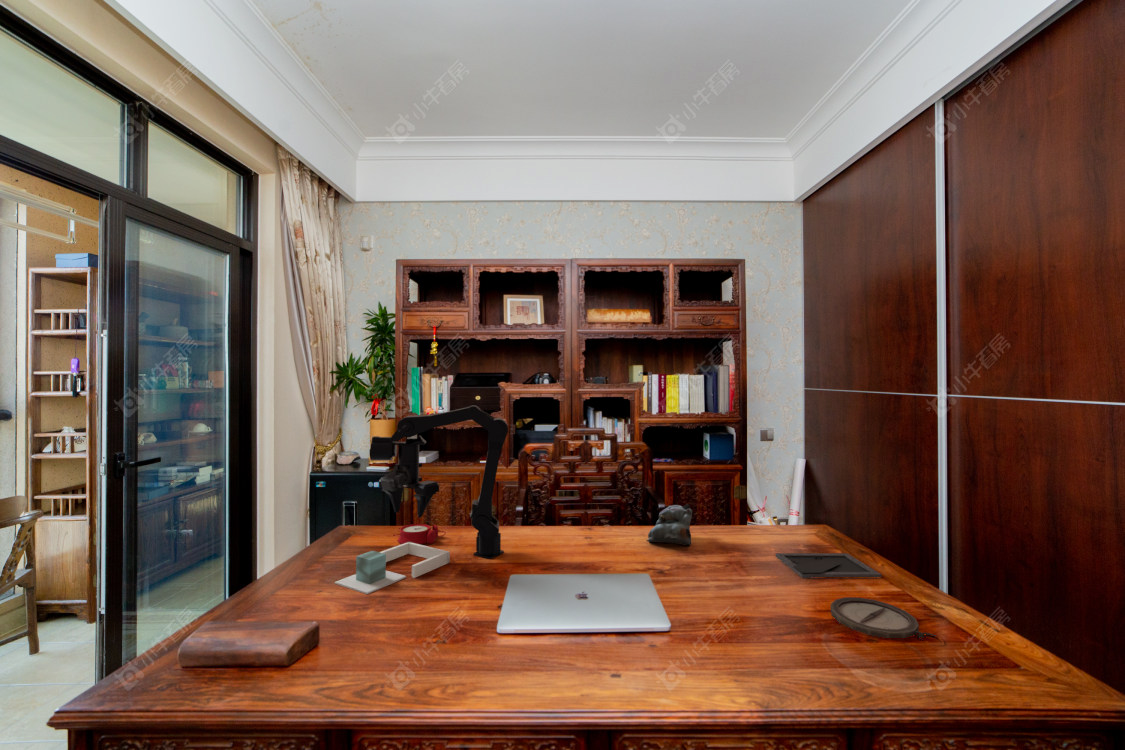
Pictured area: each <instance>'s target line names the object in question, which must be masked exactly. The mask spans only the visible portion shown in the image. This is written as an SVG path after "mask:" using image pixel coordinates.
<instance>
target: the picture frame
mask: <svg viewBox="0 0 1125 750" xmlns="http://www.w3.org/2000/svg"><path fill="white" fill-rule="evenodd" d="M776 557H777V558H776ZM775 558H776V559H777V560H779V559H780V560H781V561H782V562H781V561H780V560H779V561H780V562H781V563H782V564H784V563H785V564H786V565H787V566H788V567H787V566H786V565H785V564H784V565H785V566H786V567H787V568H789V567H790V568H791V569H792V570H793V571H792V570H791V569H790V568H789V569H790V570H791V571H792V572H794V573H795V574H796V573H797V574H798V575H799V576H798V575H797V574H796V575H797V576H798V577H800V578H801V577H802V578H801V579H815V578H814V577H869V578H868V579H871V578H870V577H876V578H875V579H878V578H877V577H882V573H880V572H879V571H877V570H875V569H874V568H872V567H871V566H869V565H868V564H865V563H863V562H862V561H860V560H859V559H857V558H856V557H854V556H852V555H851V554H849V553H846V552H845V553H840V552H839V553H837V552H834V553H832V552H830V553H829V552H828V553H827V552H825V553H823V552H820V553H816V552H814V553H813V552H805V553H804V552H803V553H802V552H801V553H800V552H798V553H797V552H795V553H794V552H793V553H792V552H791V553H789V552H779V553H778V552H775ZM811 577H813V578H811Z"/></svg>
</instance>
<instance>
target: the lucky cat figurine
mask: <svg viewBox="0 0 1125 750" xmlns="http://www.w3.org/2000/svg"><path fill="white" fill-rule="evenodd" d="M692 518H693V510H692V509H691V508H690V504H685V505H683V506H682V505H679V504H673V505H668V506H667V507H666V508H664V509H662V510H661V511H660V512H659V514H658V520H657V521H656V523H655V526H653V527H652V528H651V529H650V530H649V532H648V534H647V539H645V541H646V542H648V543H649V544H651V543H669V544H678V545H683V546H687V547H690V546H691V545H692V535H691V529H690V528H691V526H690V525H691V521H692Z"/></svg>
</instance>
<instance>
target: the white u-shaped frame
mask: <svg viewBox="0 0 1125 750" xmlns="http://www.w3.org/2000/svg"><path fill="white" fill-rule="evenodd" d="M379 552H380V553H384V554H386V563H387V562H390V561H393V560H395V559H399V558H401V557H403V556H406V555H411V556H416V557H420V558H424V560H422V561H419V562H417V563H414V564H412V565H411V578H413V579H415V578H417V577H420V576H422V575H424V574H426V573H430V572H431V571H433V570H435V569H438V568H440V567H443V566H444V565H447V564H449V563H451V562H450V560H451V559H450V558H451V557H450V555H451V553H450V551H448V550H444V549H440V548H436V547H432V546H427V545H424V544H415V543H411V542H407V543H404V544H399V545H395V546H393V547H389V548H387V549H384V550H382V551H379Z"/></svg>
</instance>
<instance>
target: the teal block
mask: <svg viewBox="0 0 1125 750" xmlns="http://www.w3.org/2000/svg"><path fill="white" fill-rule="evenodd" d="M380 552H381V551H376V550H370V551H367V552H365V553H361V554H358V555H356V557H355V560H356V561H355V565H356V566H355V571H356V572H355V574H356V580H357V581H360V582H363V583H367V584H372V583H374V582H377V581H379V580H381V579H384V578H386V570H387V569H386V568H387V567H386V566H387V562H386V554H384V553H380Z"/></svg>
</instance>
